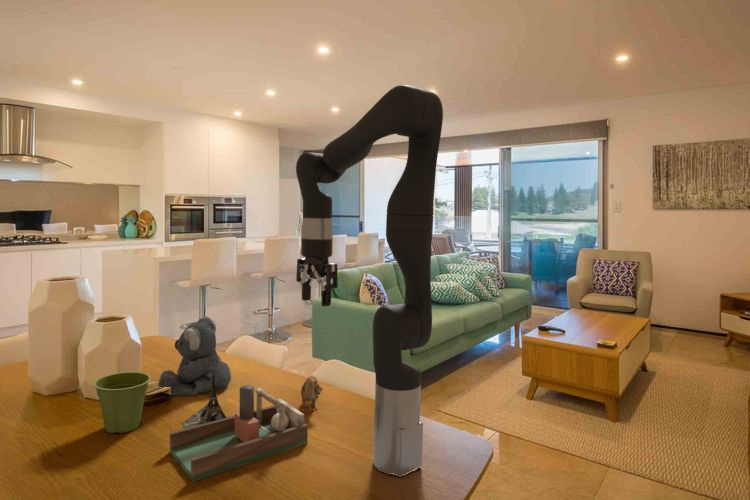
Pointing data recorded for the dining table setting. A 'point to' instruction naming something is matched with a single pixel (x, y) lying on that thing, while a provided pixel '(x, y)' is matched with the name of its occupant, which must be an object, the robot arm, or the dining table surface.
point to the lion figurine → (310, 392)
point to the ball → (276, 422)
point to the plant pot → (122, 399)
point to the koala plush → (197, 361)
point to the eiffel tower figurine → (206, 410)
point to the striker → (246, 416)
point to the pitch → (236, 440)
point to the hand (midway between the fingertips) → (315, 303)
